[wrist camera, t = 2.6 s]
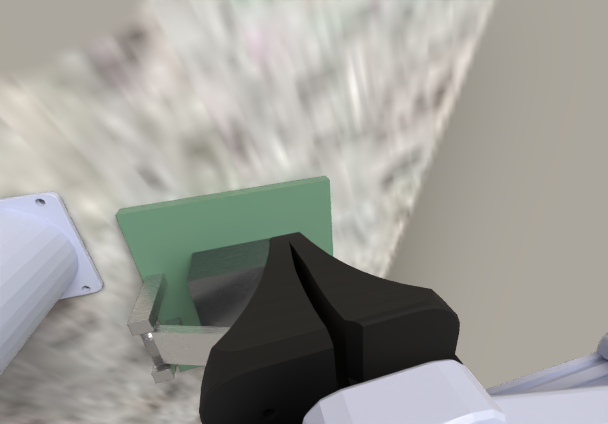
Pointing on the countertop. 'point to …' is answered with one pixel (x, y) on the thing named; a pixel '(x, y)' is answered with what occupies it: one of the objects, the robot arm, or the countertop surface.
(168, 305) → the board
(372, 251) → the countertop surface
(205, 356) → the retention strap
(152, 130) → the countertop surface
